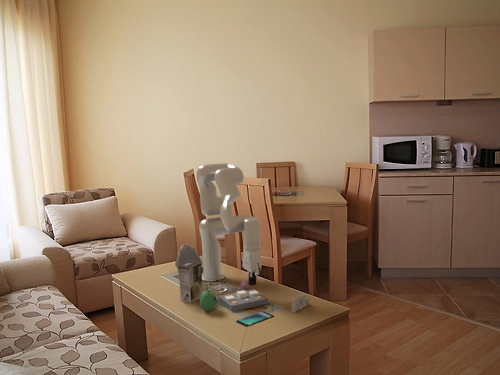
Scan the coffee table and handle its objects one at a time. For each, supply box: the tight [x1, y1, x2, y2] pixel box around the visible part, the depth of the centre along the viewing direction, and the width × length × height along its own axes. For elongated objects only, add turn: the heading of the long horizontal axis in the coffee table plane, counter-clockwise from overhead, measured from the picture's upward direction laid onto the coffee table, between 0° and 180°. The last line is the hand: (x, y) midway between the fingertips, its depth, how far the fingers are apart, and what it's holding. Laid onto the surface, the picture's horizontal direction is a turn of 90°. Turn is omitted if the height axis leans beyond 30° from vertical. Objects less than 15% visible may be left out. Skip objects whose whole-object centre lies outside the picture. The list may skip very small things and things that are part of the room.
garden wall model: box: [290, 293, 311, 313], centre depth 198 cm, size 12×2×6 cm, turn 139°
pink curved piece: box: [235, 278, 250, 293], centre depth 221 cm, size 10×5×7 cm, turn 169°
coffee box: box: [178, 262, 204, 304], centre depth 213 cm, size 9×6×16 cm
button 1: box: [224, 295, 235, 301], centre depth 205 cm, size 4×4×3 cm
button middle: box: [235, 290, 247, 299], centre depth 207 cm, size 4×4×3 cm
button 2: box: [248, 289, 260, 296], centre depth 210 cm, size 4×4×3 cm
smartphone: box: [235, 310, 275, 328], centre depth 188 cm, size 7×1×15 cm
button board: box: [217, 288, 270, 312], centre depth 207 cm, size 14×18×3 cm
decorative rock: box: [174, 243, 203, 271], centre depth 259 cm, size 16×7×15 cm, turn 118°
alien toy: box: [199, 286, 219, 312], centre depth 198 cm, size 7×8×10 cm
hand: (252, 284), depth 210 cm, fingers closed
